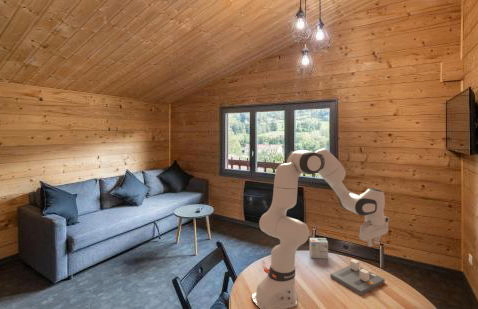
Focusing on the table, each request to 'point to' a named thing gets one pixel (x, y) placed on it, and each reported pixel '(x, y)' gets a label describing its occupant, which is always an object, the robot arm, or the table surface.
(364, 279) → the block
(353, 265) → the white slider knob
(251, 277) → the table surface
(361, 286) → the panel
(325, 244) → the light bulb box
